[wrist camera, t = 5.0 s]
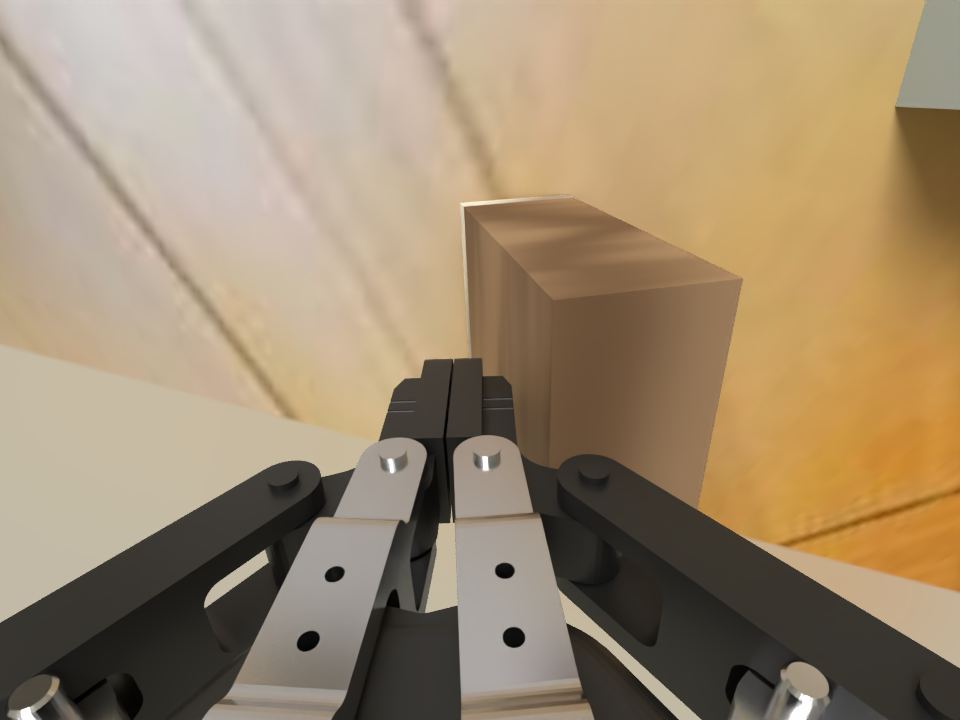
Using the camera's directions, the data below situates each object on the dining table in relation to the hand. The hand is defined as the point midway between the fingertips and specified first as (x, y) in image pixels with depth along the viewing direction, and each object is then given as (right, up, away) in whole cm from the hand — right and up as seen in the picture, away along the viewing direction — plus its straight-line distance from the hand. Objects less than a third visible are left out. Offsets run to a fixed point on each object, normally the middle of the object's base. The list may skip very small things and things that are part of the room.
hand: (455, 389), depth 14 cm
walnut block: (+2, +4, +7) cm, 8 cm away
